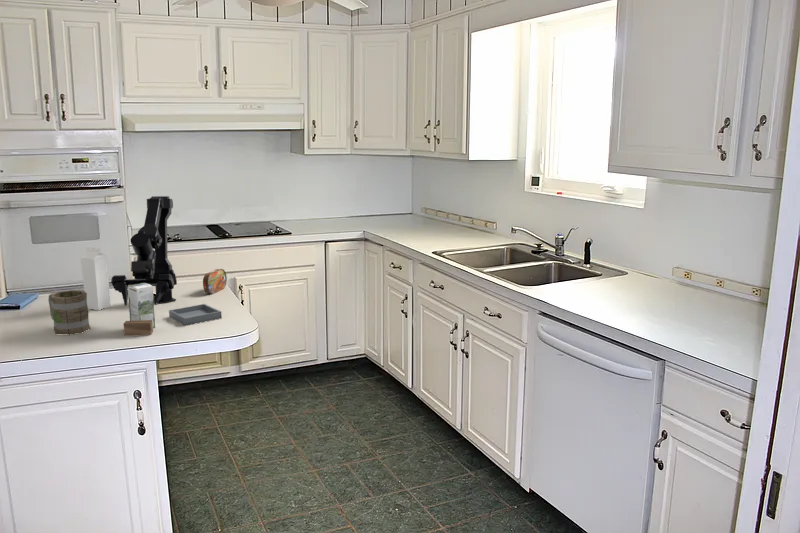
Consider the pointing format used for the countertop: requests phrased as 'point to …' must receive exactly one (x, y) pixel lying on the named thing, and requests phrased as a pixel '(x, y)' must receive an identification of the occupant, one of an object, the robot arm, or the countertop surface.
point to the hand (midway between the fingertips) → (140, 304)
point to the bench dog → (138, 327)
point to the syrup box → (141, 302)
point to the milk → (95, 279)
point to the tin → (214, 281)
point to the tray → (194, 314)
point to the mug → (69, 311)
